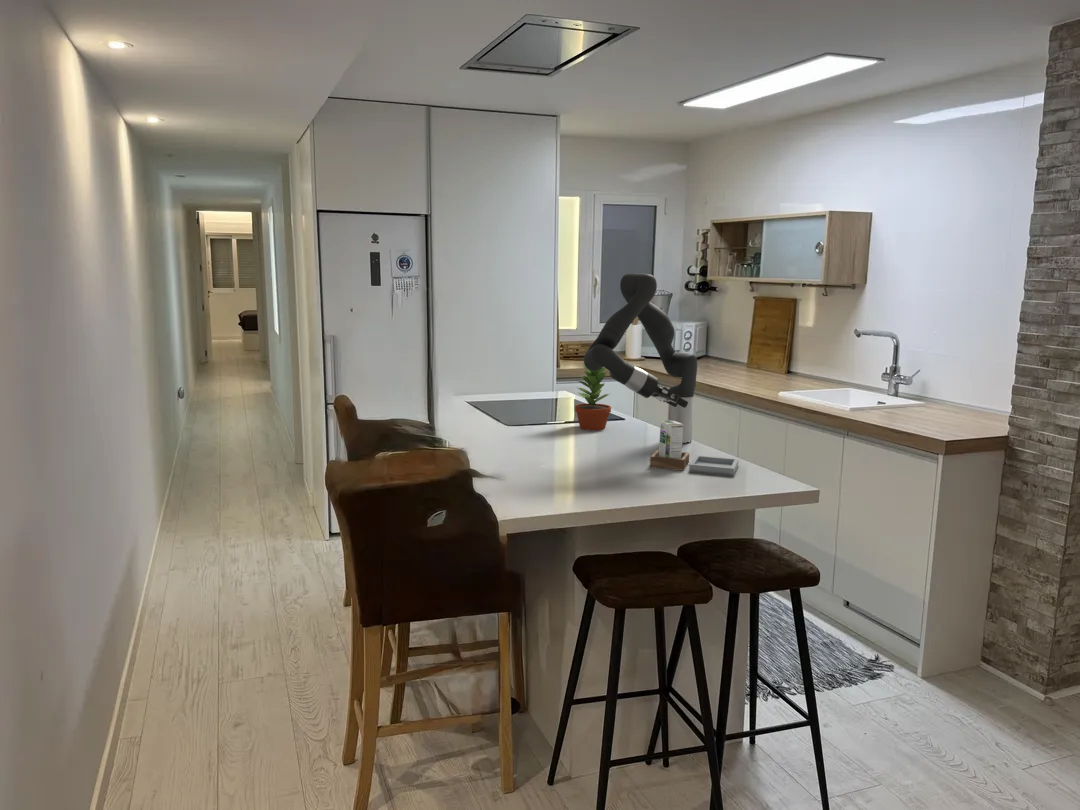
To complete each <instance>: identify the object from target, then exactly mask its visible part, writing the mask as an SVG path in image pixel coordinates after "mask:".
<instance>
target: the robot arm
mask: <svg viewBox="0 0 1080 810" xmlns="http://www.w3.org/2000/svg"><path fill="white" fill-rule="evenodd" d="M620 279H621V280H620V283H619V288H620V292H621V295H622V297H623V299H624V300H625V302H626V304H625V305H624V306H623V307H622V308H620V309H619V310H617V311H616V312H615V313H613V314H612V315H611V316H609V318H608V319H607V321H606V322H605V323H604V324H603V327H602V329H601V331H600V332H599V334H598V336H597V337H596V338H595V339H594V341H593V342H592V344H591V345H590V346H589V347H588V349H587V351H585V354H584V356H583V364H584V365H585V366H586V368H587V369H589V370H591V371H597V370H599V369H601V368H606V369H605V370H607V371H608V372H609V376H610V378H611V379H613V380H614V381H616V382H618V383H620V384H621V385H623V386H624V387H626V388H627V389H629V390H631V391H632V392H634V393H636V394H638V395H640V396H642V397H644V398H645V399H648V398H650V397H652V398H655V399H656V400H658V401H659V402H663V403H666V404H667V408H668V409H667V421H676V422H679V423H681V424H683V437H682V444H686V443H687V442H689V441H691V442H692V438H693V435H692V434H693V419H694V415H693V414H694V395H695V391H696V390H695V389H696V382H697V374H698V359H697V356H696V355H695V354H694V353H693V354H692V353H688V352H687V353H686V352H678V351H676V350H675V349H674V347H673V345H672V343H673V340H674V338H675V327H674V325H673V323H672V321H671V319H670V318H669V316H668V315H667V314H666V313H665V312H664V310H662V309H661V308H660V307H659V306H657V305H655V304H654V303H653V302H651V301H652V300H653V298H654V296H655V294H656V293H657V288H658V284H657V279H656V278H655V276H654V275H652V274H649V273H639V272H638V273H636V272H635V273H634V272H630V273H626V274H624V275H623V276H622V277H621V278H620ZM636 318H638V320H639V321H640V323H641V324H642V326H643V328H644V331H646V334H647V335H648V338H649V339H650V340H651V342H652V344H653V345H654V347H655V350H656V351H657V353H658V355H659V357H660V360H661V363H662V365H663V368H664V370H665V371H666V373H667V374H668V376H670V377H674V378H681V381H680V383H679V384H677V385H674V386H671V387H670V388H667V387H666V386H663V385H661V386H660V385H658V384H659V379H658V377H657V376H655V375H653V374H651V373H649V372H647V371H645V370H644V369H642V368H640V367H637V366H635V365H633V364H631V363H630V362H628V361H626V360H624V359H623V358H622V357H621V356H620V354H618V353H617V352H616V351H615V350H614V349H615V348H616V347H617V346H618V345H619V343H620V342H621V340H622V338H623V337H624V335H625V333H626V331H627V330H628V328H629V327H630V325H632V323H633V322H634V320H635V319H636ZM689 443H690V442H689ZM687 444H688V443H687Z"/></svg>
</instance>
